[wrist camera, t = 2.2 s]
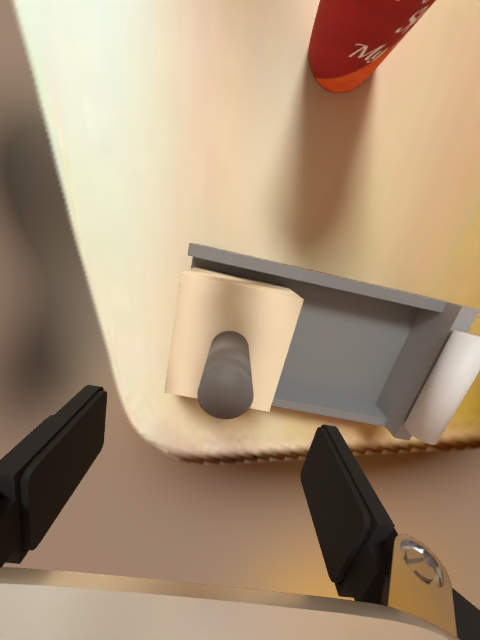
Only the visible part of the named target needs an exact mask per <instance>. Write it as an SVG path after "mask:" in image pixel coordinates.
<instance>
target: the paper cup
mask: <svg viewBox="0 0 480 640" xmlns="http://www.w3.org/2000/svg"><path fill="white" fill-rule="evenodd" d="M435 1H436V0H320V3H319V7H318V10H317V14H316V18H315V22H314V26H313V30H312V34H311V39H310V45H309V62H310V67H311V70H312V73H313V75H314V77H315V79H316V80H317V82H318V83H319V84H320V85H321V86H322V87H323V88H325V89H326V90H328V91H330V92H334V93H344V92H348V91H351V90H353V89H355V88H356V87H358V86H359V85H360V84H361V83H363V82H364V81H365V80H366V79H367V78H368V77H369V75H370V74H371V73H372V72H373V71H374V70H375V69H376V68H377V67H378V66H379V65H380V63H381V62H382V61H383V60H384V59H385V58H386V57H387V55H388V54H389V53H390V52H391V51H392V50H393V49H394V48H395V46H396V45H397V44H398V43H399V42H400V41H401V40H402V38H403V37H404V36H405V35H406V34H407V33H408V32H409V30H410V29H411V28H412V27H413V26H414V25H415V24H416V22H417V21H418V20H419V19H420V18H421V17H422V16H423V14H424V13H425V12H426V11H427V10H428V9H429V7H430V6H431V5H432V4H433V3H434V2H435Z"/></svg>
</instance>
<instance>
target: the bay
mask: <svg viewBox="0 0 480 640" xmlns="http://www.w3.org/2000/svg"><path fill="white" fill-rule="evenodd" d="M188 255H189V256H193V259H192V265H191V268H194V267H196V266H197V267H201V268H206V269H210V270H215V271H219V272H224V273H228V274H233V275H237V276H241V277H246V278H250V279H255V280H259V281H264V282H268V283H273V284H277V285H282V286H286V287H288V288H290V289H291V290H292V291H293V292H295V293H296V294H297V295H298V296H300V297H301V298H302V299H304V301H303V304H302V307H301V310H300V314H299V317H298V320H297V323H296V327H295V330H294V333H293V336H292V340H291V343H290V346H289V349H288V353H287V356H286V359H285V362H284V366H283V369H282V372H281V375H280V379H279V382H278V385H277V388H276V392H275V395H274V398H273V401H272V405H271V406H276V407H281V408H287V409H292V410H297V411H303V412H308V413H314V414H319V415H325V416H330V417H335V418H341V419H346V420H352V421H357V422H362V423H368V424H373V425H379V426H384V427H386V428H387V429H388V430H389V432H390V433H391V434H392V435H393V436H394V438H399V439H405V440H410V438H411V436H412V435H413V436H414V437H416V438H417V439H419V440H421V441H423V442H425V443H428V444H433V445H434V444H437V442H438V440H439V439H440V437H441V435H442V434H443V432H444V430H445V429H446V427H447V425H448V423H449V422H450V420H451V418H452V417H453V415H454V413H455V412H456V410H457V408H458V406H459V405H460V403H461V401H462V400H463V398H464V396H465V395H466V393H467V391H468V389H469V388H470V386H471V384H472V383H473V381H474V379H475V378H476V376H477V374H478V372H479V371H480V336H479V335H476V334H472V333H469V332H468V331H469V329H470V327H471V325H472V323H473V321H474V320H475V318H476V316H477V314H478V312H479V310H477V309H473V308H469V307H465V306H462V305H458V304H454V303H450V302H446V301H442V300H438V299H434V298H430V297H426V296H421V295H417V294H413V293H408V292H404V291H400V290H395V289H391V288H387V287H382V286H378V285H374V284H369V283H365V282H360V281H356V280H352V279H347V278H343V277H339V276H334V275H330V274H326V273H321V272H317V271H313V270H308V269H304V268H300V267H295V266H291V265H286V264H282V263H278V262H273V261H269V260H265V259H260V258H256V257H252V256H247V255H243V254H239V253H234V252H230V251H226V250H221V249H217V248H213V247H208V246H204V245H199V244H193V243H189V249H188Z"/></svg>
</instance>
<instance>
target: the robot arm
mask: <svg viewBox="0 0 480 640" xmlns="http://www.w3.org/2000/svg"><path fill="white" fill-rule="evenodd" d="M106 403H107V392H106V391H104V389H103V387H99V386H93V385H87V386H86V387H84V388H83V389H82V390H81V391H80V392H79V393H78V394H76V395H75V396H74V397H73V398H72V399H71V400H70V401H69V402H68V403H67V404H66V405H64V406H63V407H62V408H61V409H60V410H59V411H58V412H57V413H56V414H55V415H51V416H49V417H48V418H47V419H45V420H44V421H43V422H42V423H41V424H40V425H39V426H38V427H36V429H34V430H33V431H32V432H31V433H30V434H29V435H28V436H26V437H25V438H24V439H23V440H22V441H21V442H20V443H19V444H17V445H16V446H15V447H14V448H13V449H12V450H11V451H10V452H9V453H8V454H6V455H5V456H4V457H3V458H2V459H1V460H0V640H480V610H478V609H477V608H476V607H475V606H474V605H472V604H471V603H470V602H469V601H467V600H466V599H465V598H464V597H463V596H461V595H460V594H459V593H458V592H457V591H455V590H454V589H453V588H452V586H451V582H450V578H449V576H448V573H447V571H446V570H445V567H444V566H443V564H442V563H441V562H440V560H439V559H438V557H437V556H436V555H435V554H434V553H433V552H432V551H431V550H430V549H429V548H428V547H427V546H425V545H424V544H423V543H422V542H421V541H419V540H417V539H416V538H414V537H412V536H409V535H405V534H400V535H398V534H397V532H396V530H395V528H394V527H395V526H394V524H393V522H392V520H391V519H390V517H389V515H388V514H387V512H386V510H385V508H384V507H383V505H382V503H381V502H380V500H379V498H378V497H377V495H376V493H375V491H374V490H373V488H372V486H371V485H370V483H369V481H368V479H367V478H366V476H365V474H364V473H363V471H362V469H361V468H360V466H359V464H358V463H357V461H356V459H355V457H354V456H353V454H352V452H351V450H350V449H349V447H348V445H347V444H346V442H345V440H344V439H343V437H342V435H341V433H340V432H339V430H338V429H337V427H335V426H329V425H322V426H321V427H318V428H317V431H316V433H315V436H314V439H313V441H312V444H311V446H310V449H309V452H308V454H307V457H306V460H305V463H304V465H303V468H302V470H301V483H302V486H303V489H304V493H305V496H306V499H307V503H308V507H309V510H310V513H311V516H312V520H313V524H314V527H315V530H316V534H317V537H318V540H319V544H320V547H321V550H322V554H323V558H324V561H325V564H326V568H327V571H328V575H329V577H330V579H331V581H332V582H334V583H335V586H336V589H337V592H338V595H339V596H342V597H352V598H354V599H355V601H351V600H344V599H336V598H329V597H320V596H311V595H301V594H292V593H283V592H273V591H264V590H255V589H245V588H236V587H226V586H225V587H224V586H216V585H205V584H196V583H186V582H176V581H165V580H156V579H145V578H134V577H124V576H112V575H102V574H92V573H81V572H69V571H55V570H42V569H27V568H3V567H2V566H3V564H4V563H5V562H7V563H17V564H20V562H21V561H22V560H23V558H24V557H25V555H26V554H27V552H28V551H29V550H34V549H35V548H36V547H37V546H38V544H39V543H40V542H41V540H42V539H43V537H44V536H45V534H46V533H47V531H48V530H49V528H50V527H51V525H52V524H53V522H54V520H55V519H56V518H57V516H58V515H59V513H60V512H61V510H62V509H63V507H64V505H65V504H66V502H67V501H68V500H69V498H70V497H71V495H72V494H73V492H74V490H75V489H76V487H77V486H78V484H79V483H80V481H81V480H82V478H83V477H84V475H85V474H86V472H87V471H88V469H89V468H90V466H91V465H92V463H93V462H94V460H95V459H96V457H97V456H98V454H99V453H100V451H101V449H102V447H103V443H104V432H105V417H106Z"/></svg>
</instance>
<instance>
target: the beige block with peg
mask: <svg viewBox="0 0 480 640" xmlns="http://www.w3.org/2000/svg"><path fill="white" fill-rule="evenodd" d="M303 301H304V299H302V298H301V297H300V296H298V295H297V294H296V293H295V292H293V291H292V290H291V289H290V288H288V287H286V286H282V285H277V284H273V283H268V282H264V281H259V280H255V279H250V278H246V277H241V276H237V275H233V274H228V273H224V272H219V271H215V270H210V269H206V268H201V267H197V266H196V267H194V268H191V269H189V270H187V271H184V272H182V273H181V280H180V287H179V294H178V300H177V307H176V314H175V321H174V328H173V335H172V342H171V349H170V356H169V363H168V369H167V376H166V383H165V390H164V393H169V394H175V395H180V396H186V397H191V398H197V399H198V401H199V404H200V406H201V407H202V408H203V410H204V411H205V412H207V413H208V414H210V415H211V416H213V417H216V418H220V419H231V418H235V417H238V416H240V415H242V414H244V413H245V412H246V411H247V410H248V409H249V408H251V409H257V410H262V411H268V412H269V411H270V408H271V405H272V401H273V398H274V395H275V392H276V388H277V385H278V382H279V379H280V375H281V372H282V369H283V366H284V362H285V359H286V356H287V353H288V349H289V346H290V343H291V340H292V336H293V333H294V330H295V327H296V323H297V320H298V317H299V314H300V310H301V307H302V304H303Z"/></svg>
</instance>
